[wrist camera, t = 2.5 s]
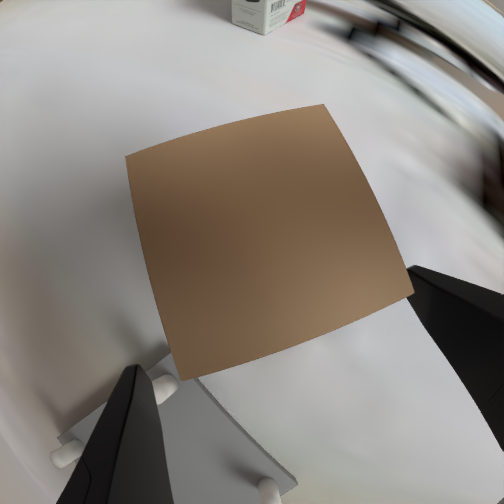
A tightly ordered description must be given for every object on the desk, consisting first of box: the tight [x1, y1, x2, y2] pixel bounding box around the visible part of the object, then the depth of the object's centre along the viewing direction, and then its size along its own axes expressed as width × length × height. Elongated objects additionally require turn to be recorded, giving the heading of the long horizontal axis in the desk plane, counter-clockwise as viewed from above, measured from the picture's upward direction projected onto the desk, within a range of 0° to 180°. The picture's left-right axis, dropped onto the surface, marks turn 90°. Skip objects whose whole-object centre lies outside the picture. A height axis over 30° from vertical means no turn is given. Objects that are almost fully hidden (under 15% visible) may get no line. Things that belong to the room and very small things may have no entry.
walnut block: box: [125, 104, 415, 382], centre depth 12 cm, size 5×5×13 cm
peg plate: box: [50, 353, 298, 504], centre depth 13 cm, size 12×12×4 cm
